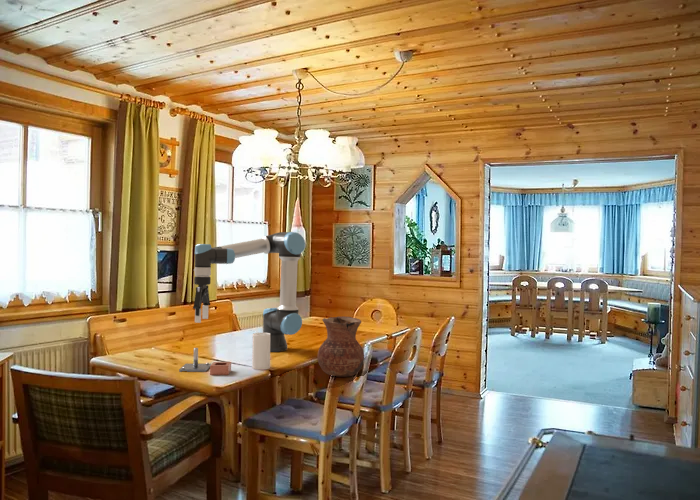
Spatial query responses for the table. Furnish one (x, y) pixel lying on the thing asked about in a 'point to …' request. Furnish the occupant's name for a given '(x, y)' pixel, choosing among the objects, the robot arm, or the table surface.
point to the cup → (261, 351)
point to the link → (220, 368)
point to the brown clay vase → (341, 347)
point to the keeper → (195, 365)
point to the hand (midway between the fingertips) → (201, 320)
